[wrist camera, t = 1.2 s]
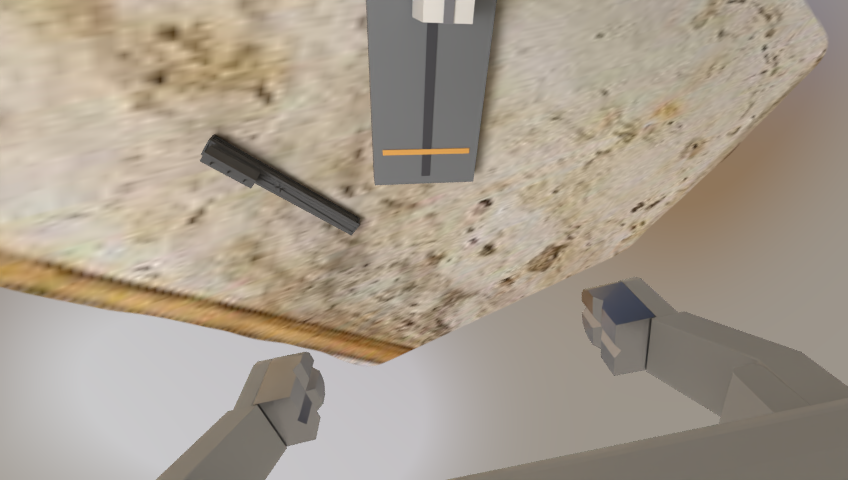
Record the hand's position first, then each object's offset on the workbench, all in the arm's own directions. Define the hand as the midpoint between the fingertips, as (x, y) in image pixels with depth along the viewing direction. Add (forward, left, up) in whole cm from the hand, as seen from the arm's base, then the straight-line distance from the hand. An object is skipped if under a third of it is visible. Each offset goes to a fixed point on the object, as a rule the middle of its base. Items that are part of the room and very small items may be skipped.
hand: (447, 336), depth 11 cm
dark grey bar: (+12, -11, -35) cm, 38 cm away
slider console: (0, +5, -34) cm, 35 cm away
